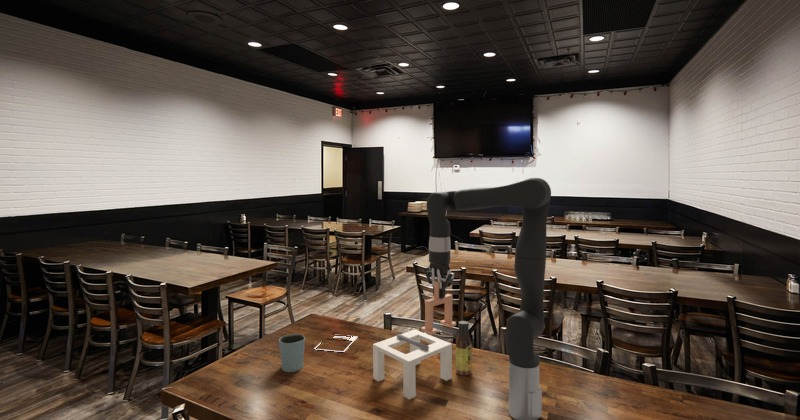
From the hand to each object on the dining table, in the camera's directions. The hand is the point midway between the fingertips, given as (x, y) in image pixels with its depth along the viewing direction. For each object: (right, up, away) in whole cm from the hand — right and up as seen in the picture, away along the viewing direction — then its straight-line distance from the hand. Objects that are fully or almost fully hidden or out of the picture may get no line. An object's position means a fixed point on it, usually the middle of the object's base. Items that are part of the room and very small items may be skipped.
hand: (439, 297), depth 141 cm
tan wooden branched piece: (0, -11, +1) cm, 11 cm away
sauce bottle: (+11, -33, +15) cm, 38 cm away
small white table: (-9, -33, +11) cm, 36 cm away
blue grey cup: (-57, -33, +21) cm, 70 cm away
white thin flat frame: (-43, -32, +45) cm, 70 cm away
